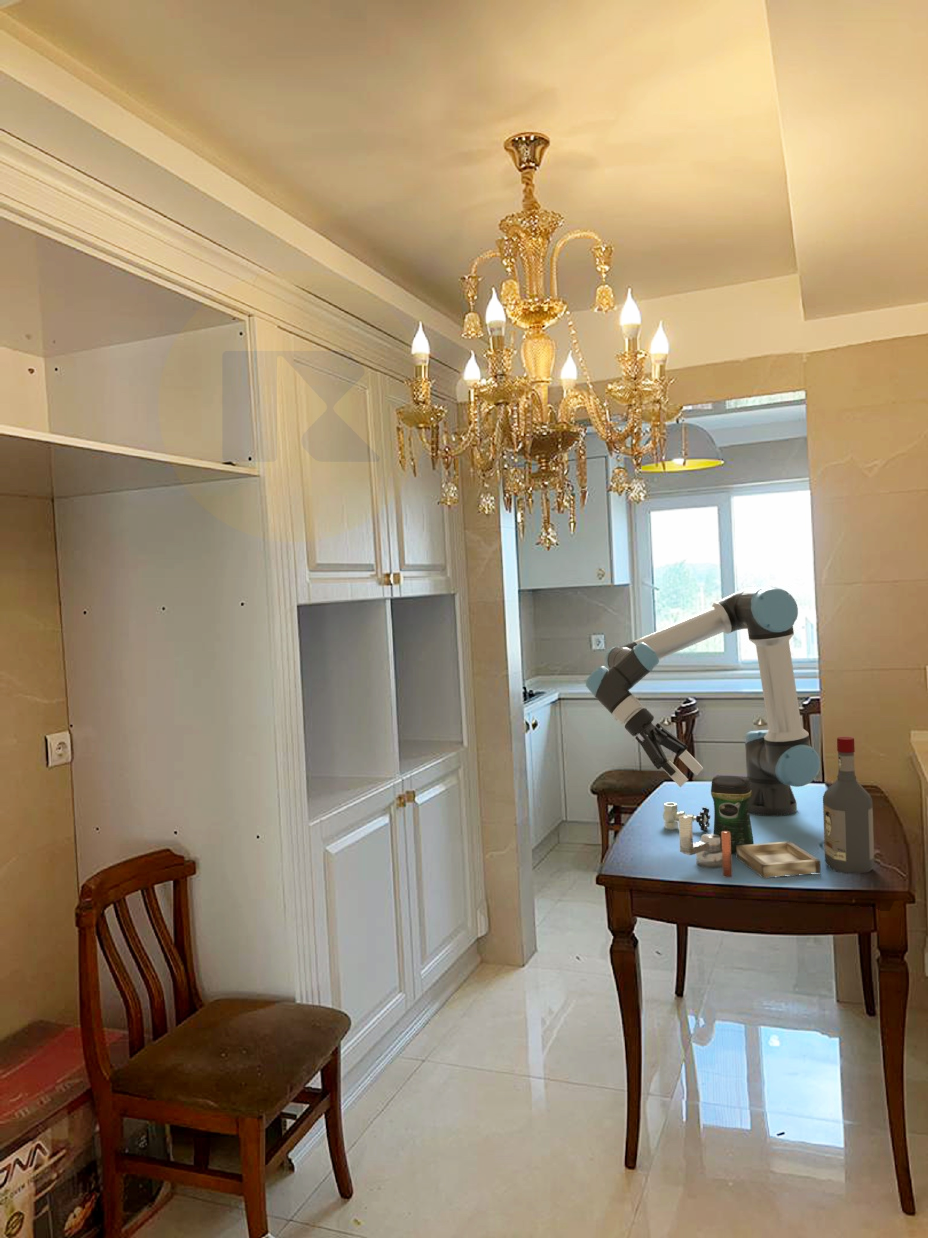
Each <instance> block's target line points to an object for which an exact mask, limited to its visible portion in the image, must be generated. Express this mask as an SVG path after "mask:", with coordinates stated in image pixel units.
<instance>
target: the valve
mask: <svg viewBox="0 0 928 1238" xmlns="http://www.w3.org/2000/svg"><path fill="white" fill-rule="evenodd" d="M663 809H664V811H663V812H662V813H663V814H662V818H663V820H664V828H665V830H676V829H679V816H684V815H686V816H691V817H692V823H693V822H694V821H696V823H698V825H699V827H700V831H702V832H706V833H707V832H708V831H709V830H708V828H709V827H710V825H711V823H710V822H709V821H710V819H711V815H710V814H709V813H710V808H708V807H705V806H702V807H701V811H700V812H699V814H697V815H696V816H695V814H687V813H686V812H685V811H678V804H677V803H676V802H665V803H663Z"/></svg>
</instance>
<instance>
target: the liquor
mask: <svg viewBox="0 0 928 1238" xmlns="http://www.w3.org/2000/svg"><path fill="white" fill-rule="evenodd" d="M855 749H856V748H855V737H850V736H838V737H837V738H836V750H837V758H838V759H837V765H838V766H837V768H838V769H837V771H838V773H837V775H836V778H837V779H836V780H835V781H834V782H833V783H832V784H831V785H830V786H829V787H828V788H827V789H826V790H825V791H824V792H823V795H822V810H823V811H822V812H823V842H824V862H825V863H826V865H827V866H828V867H829V866H830V868H831V869H832V870H833V869H834V870H833V871H834V872H837V873H841V872H842V873H843V874H846V873H847V874H848V873H850V874H866V873H870V872H871V871H872V870H873V869H874V867H875V843H874V841H875V838H874V809H873V799H872V796H871V794H870V793H869V792H868V791H867V789H865V788H864V787H863V786H862V784H860V782H859V781H858V780H857V776H856V769H855V752H856V751H855ZM842 873H841V874H842ZM848 875H849V874H848Z"/></svg>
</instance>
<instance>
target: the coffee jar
mask: <svg viewBox="0 0 928 1238" xmlns="http://www.w3.org/2000/svg"><path fill="white" fill-rule="evenodd" d="M710 795H711V798H712V800H713V808H714V809H713V813H714V818H713V834H716V835H719V836H720V843H721V848H722V837H721V832H722V831H729V832H730V834H731V854H737V850H736V846H737V845H749V844H755V843H754V842H755V841H754V834H753V829H752V823H751V813H749V799H750V797H751V787H750V782H749V778H748V777H747V776H744V775H743V776H742V775H741V776H739V775H723V774H722V775H721V774H718V775H717V774H716V775H715V776H714V777H713V778H712V780H711V786H710Z"/></svg>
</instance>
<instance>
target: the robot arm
mask: <svg viewBox="0 0 928 1238" xmlns="http://www.w3.org/2000/svg"><path fill="white" fill-rule="evenodd" d="M798 614H799V608H798V604H797V602H796V599H795V598H794V597H793V595H792V594H791V593H789V591H786V589H782V588H778V587H775V586H750V587H747V588H746V587H745V588H743V589H740V590H738V591H737V592H733V593H732V594H730V595H728V596H725V597H724V598H722V599H719V600H718V601H715V602H713V603H712V606H711V608H708V609H705V610H704V611H701V612H698V613H697V614H694V615H692V616H689V617H686V618H685V619H682V620H680V621H678V622H675V623H673V624H671V625H668V626H666V627H664V628H661V629H659V630H657V631H655V632H652V633H650V634H647V635H645V636H643V637H641V638H638V639H636V640H633V641H631V642H629V643H627V644H624V645H619V646H617V645H616V646H613V647H611V648H610V649H609V650H608V651H607V652H606V654H605V656H604V662H605V663H604V664H605V665H602V666H600V667H599V666H598V667H597V669H595V670H594V671H593V672H591V674H589V676H588V677H587V678H586V681H585V687H586V688H587V689H588V690H589V691H590V693H591V694H592V695H593V697H594V698H596V699H597V701H599V703H600V704H601V705H602V706H603V707H604V708H605V709H606V710H607V711H608V712H609V713H610V714H611V715H612V716H613V717H614V720H615V721H618V722H619V723H620V724H621V725H624V729H625V730H626V731H627V732H628V733H629V734H630V735H631V736H632V737H634V738H635V740H636V742H638V744H639V745H640V746H641V747H642V749H643V750H644V752H645V753H646V755H647V757H648V758H649V760H650V762H651V763H652V765H653V766H654V767H655V769H657V770H660V769H662V770H663V771H664V772H665V773H666V774H667V775H668V776H669V777H670V778H671V780H673V781H674V782H675V784H676V785H677V786H678V787H680V788H681V787H682V786H684V785H685V784H686V783H687V782H688V781H689V778H687V776H686V775H685V774H684V773H683V772H682V771H681V770H680V769H679V768H678V767H677V766H676V765H675V764H674V763H673V762H672V761H671V760H670V759H669V760H668V759H667V757H666V755H665V752H664V750H663V748H662V746H663V747H664V748H665V749H667V750H669V751H671V752H672V753H675V754H676V755H678V758H679V760H681V761H682V763H684V765H685V766H686V767H687V768H688V769H689V770H690V771H691V772H692V773H693V774H694V775H695V776H698V775H699V774H700V773H701V772H702V771H703V770H704V769H705V768H704V767H703V766H702V765H701V763H699V761H698V760H697V759H696V758H695V757H694V756H693V755H692V754H691V753H690V752H689V751H688V750H687V749H688V748H689V746H688V745H687V744H686V743H684V742H683V741H682V740H680V739H679V738H678V737H676V736H675V735H673V734H672V733H671V732H669V730H668V729H665V727H663V725H661V724H660V723H659V722H657V723H656V724H655V725H654V724H653V721H654V719H655V717H654V715H653V714H652V713H651V712H650V711H649V710H648V709H647V708H645V707H644V705H643V704H642V702H640V700H639V699H638V698H637V697H636V696H634V694H633V693H631V691H630V690H631V689H632V688H633V687H635V686H636V684H638V683H639V682H640V681H641V680H642V679H644V678H645V677H646V675H648V674H649V673H650V672H652V671H653V670H654V669H655V668H656V666H658V664H659V663H660V660H661V659H663V658H666V657H668V656H670V655H672V654H675V653H677V652H679V651H682V650H684V649H686V648H689V647H691V646H693V645H696V644H698V643H701V642H703V641H706V640H707V639H710V638H711V637H714V636H717V635H719V634H720V635H721V633H724V634H727V635H729V634H731V633H733V632H736V631H739V630H745V629H746V630H747V634H748V635H747V636H748V639H749V641H750V642H751V643H753V644H754V645H755V647H756V648H755V649H756V656H757V661H758V667H759V668H758V669H759V675H760V682H761V688H762V694H763V701H764V707H765V709H764V710H765V713H766V722H767V728H768V729H760V730H759V729H758V730H751V731H748V732H747V733H746V735H745V740H744V741H745V742H744V745H745V764H746V765H745V767H746V768H745V769H746V777H748V778H749V782H750V787H751V797H750V799H749V813H750V815H751V814H752V815H757V816H766V817H778V816H779V817H780V816H787V815H792V814H795V813H796V812H797V810H798V805H797V804H798V802H797V800H796V798H795V795H794V791H793V789H792V787H793V788H794V787H796V788H797V787H804V786H807V785H808V784H810V783H812V782H813V781H814V779H815V778H816V777H817V776H818V774H819V772H820V769H821V759H820V755H819V754H818V752H817V751H816V750H815V749H814V748H813V747H812V746H811V739H810V735H809V732H808V731H807V730H806V729H804V728H803V727H802V722H801V721H802V720H801V713H800V712H801V711H800V705H799V701H798V700H799V699H798V694H797V687H796V680H795V673H794V666H793V661H792V660H793V659H792V653H791V645H790V640H791V638H793V636H794V635H795V630H794V625H795V622H796V621H797V619H798Z"/></svg>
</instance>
